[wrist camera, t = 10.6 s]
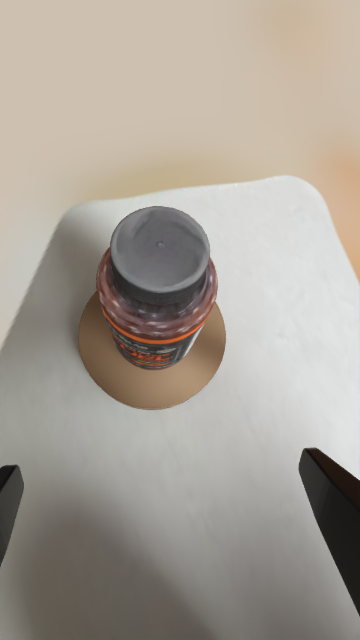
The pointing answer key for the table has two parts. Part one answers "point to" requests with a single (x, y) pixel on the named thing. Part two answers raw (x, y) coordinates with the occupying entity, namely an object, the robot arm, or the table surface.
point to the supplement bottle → (156, 286)
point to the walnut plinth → (149, 384)
